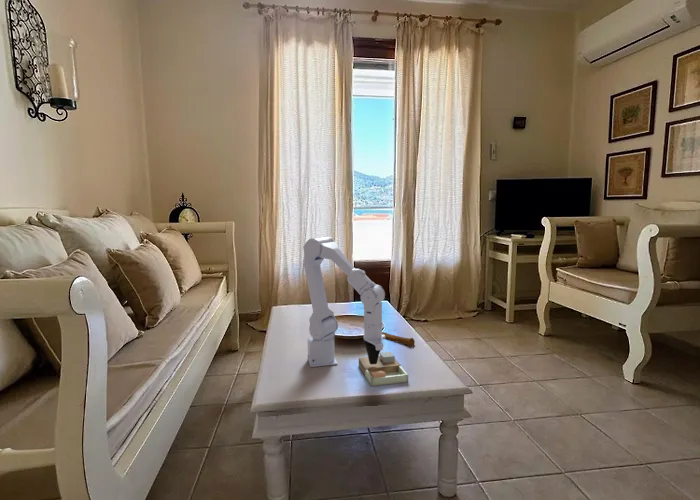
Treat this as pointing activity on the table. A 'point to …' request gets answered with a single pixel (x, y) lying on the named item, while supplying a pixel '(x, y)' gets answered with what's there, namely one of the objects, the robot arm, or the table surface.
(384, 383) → the tray
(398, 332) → the table surface
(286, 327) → the table surface
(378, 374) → the terracotta tile
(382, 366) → the walnut board
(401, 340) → the primitive tool
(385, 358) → the slate tile
